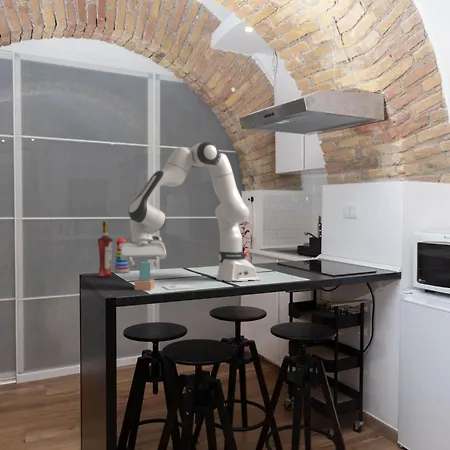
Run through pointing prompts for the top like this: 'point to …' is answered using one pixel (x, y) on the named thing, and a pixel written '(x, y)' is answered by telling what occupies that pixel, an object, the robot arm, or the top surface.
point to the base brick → (144, 285)
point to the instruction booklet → (177, 287)
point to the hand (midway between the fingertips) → (145, 266)
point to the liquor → (105, 252)
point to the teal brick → (144, 271)
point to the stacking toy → (120, 260)
